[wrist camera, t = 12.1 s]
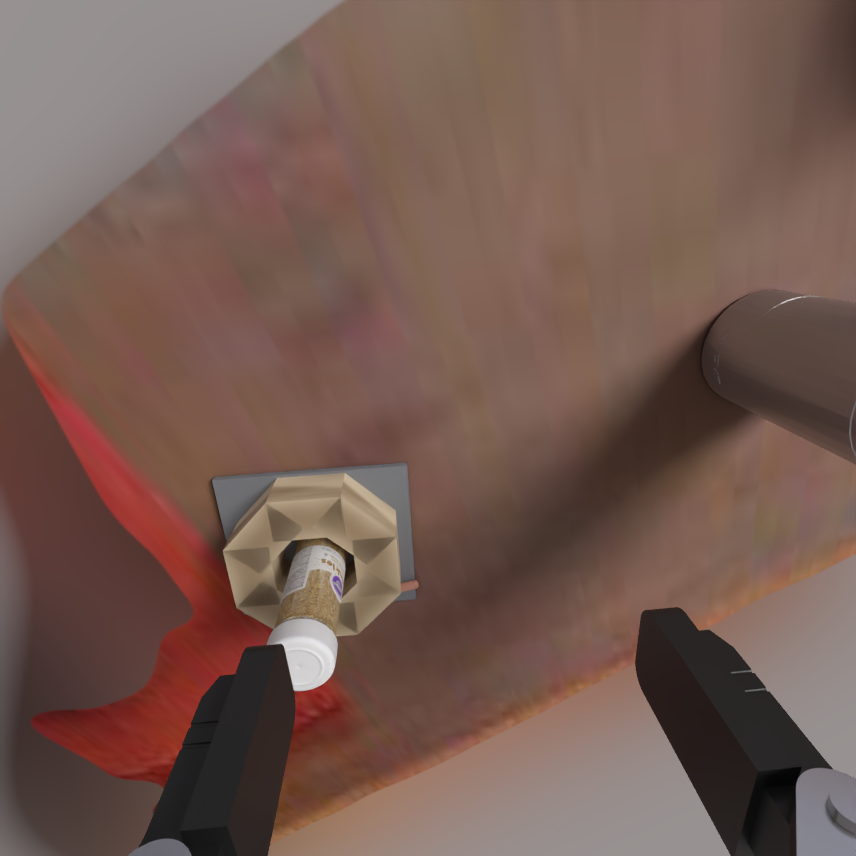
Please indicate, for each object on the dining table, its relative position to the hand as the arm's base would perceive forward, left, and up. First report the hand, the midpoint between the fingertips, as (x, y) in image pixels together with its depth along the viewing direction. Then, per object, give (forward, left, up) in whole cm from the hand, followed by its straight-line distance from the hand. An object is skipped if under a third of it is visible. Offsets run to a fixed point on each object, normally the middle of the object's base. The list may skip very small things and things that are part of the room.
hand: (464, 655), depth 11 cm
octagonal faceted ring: (+9, +16, -29) cm, 35 cm away
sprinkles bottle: (+9, +16, -29) cm, 35 cm away
